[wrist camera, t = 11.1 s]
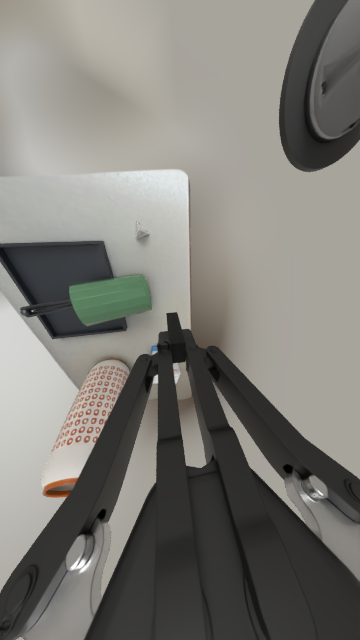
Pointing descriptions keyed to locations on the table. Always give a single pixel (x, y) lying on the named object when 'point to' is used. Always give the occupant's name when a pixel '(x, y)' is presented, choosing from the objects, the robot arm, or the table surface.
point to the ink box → (175, 367)
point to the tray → (59, 280)
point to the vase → (83, 426)
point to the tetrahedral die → (140, 231)
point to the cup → (110, 298)
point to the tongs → (28, 313)
